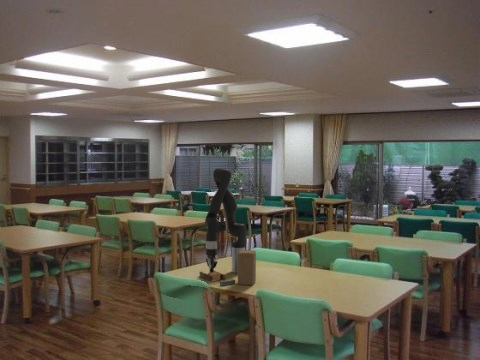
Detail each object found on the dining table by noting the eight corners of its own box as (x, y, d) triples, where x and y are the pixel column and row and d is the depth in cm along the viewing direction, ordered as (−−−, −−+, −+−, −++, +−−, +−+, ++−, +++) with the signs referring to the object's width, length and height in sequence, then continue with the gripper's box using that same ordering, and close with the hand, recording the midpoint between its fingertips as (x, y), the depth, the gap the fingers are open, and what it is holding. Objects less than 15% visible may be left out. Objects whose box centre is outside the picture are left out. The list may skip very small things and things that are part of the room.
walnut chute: (212, 274, 321) (212, 269, 321) (224, 279, 307) (224, 274, 307) (199, 276, 316) (199, 271, 316) (210, 281, 302) (210, 276, 302)
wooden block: (253, 285, 292) (253, 253, 291) (237, 284, 294) (237, 252, 293) (256, 281, 301) (256, 250, 301) (240, 281, 303) (240, 249, 303)
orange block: (215, 277, 312) (215, 271, 312) (220, 279, 307) (220, 273, 307) (207, 279, 309) (207, 272, 309) (211, 281, 304) (211, 274, 304)
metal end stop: (234, 283, 297) (234, 279, 297) (235, 284, 296) (235, 280, 296) (220, 285, 292) (220, 281, 292) (221, 286, 291) (221, 282, 290)
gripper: (221, 248, 307) (221, 275, 308) (212, 245, 319) (212, 271, 320) (210, 249, 304) (211, 276, 304) (201, 246, 315) (202, 272, 316)
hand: (211, 273), depth 312 cm, fingers closed
